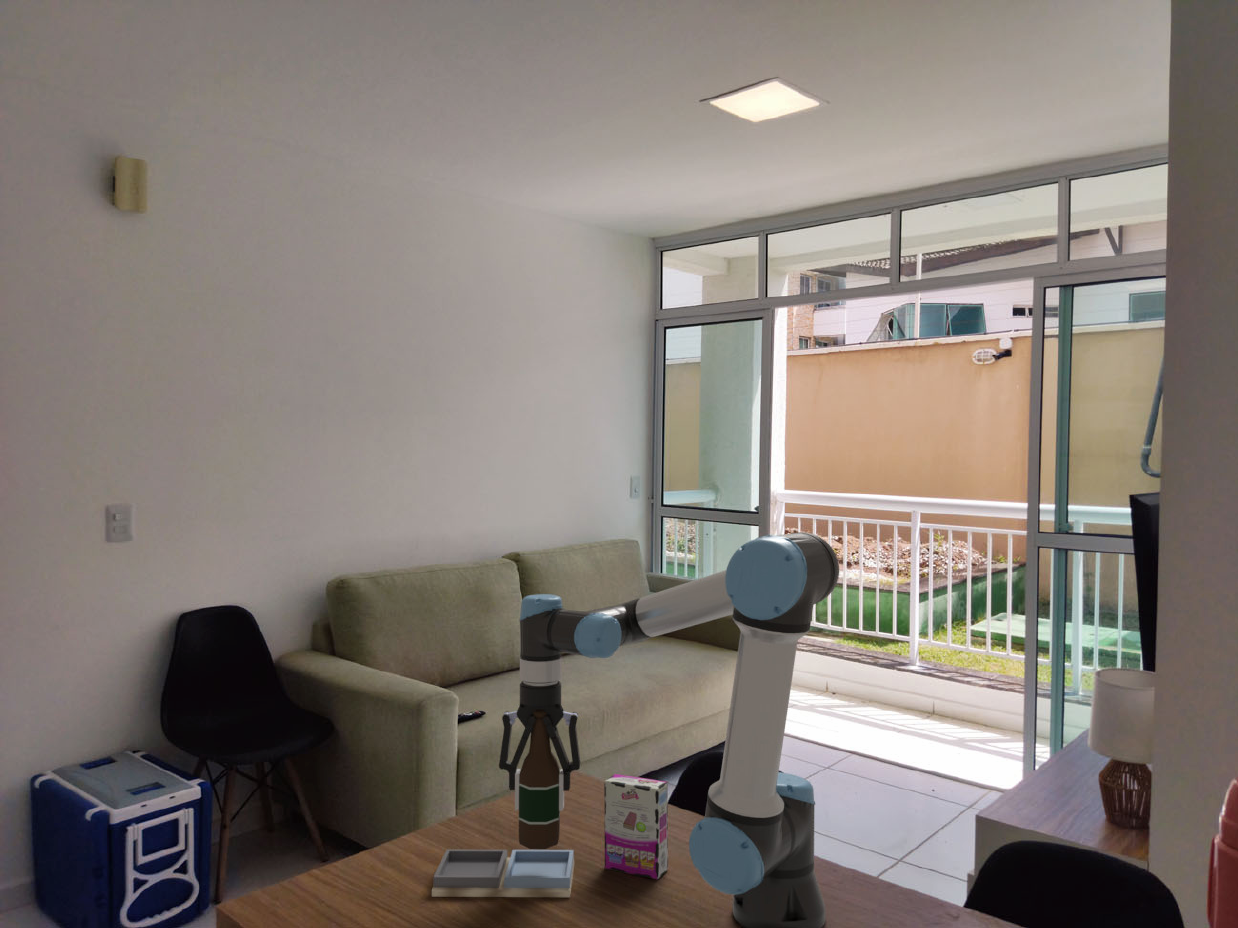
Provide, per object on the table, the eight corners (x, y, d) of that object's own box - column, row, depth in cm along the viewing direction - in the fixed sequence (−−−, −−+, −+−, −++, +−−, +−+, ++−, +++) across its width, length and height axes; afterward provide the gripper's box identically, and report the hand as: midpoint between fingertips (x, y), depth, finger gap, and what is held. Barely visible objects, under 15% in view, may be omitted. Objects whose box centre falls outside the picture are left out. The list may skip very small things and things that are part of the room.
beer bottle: (566, 846, 158) (567, 711, 158) (524, 853, 155) (525, 716, 155) (553, 829, 165) (554, 701, 165) (512, 836, 162) (513, 705, 162)
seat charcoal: (507, 859, 166) (507, 849, 166) (498, 887, 154) (498, 877, 154) (446, 858, 166) (446, 849, 166) (433, 887, 154) (433, 876, 154)
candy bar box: (669, 869, 164) (669, 780, 164) (658, 880, 160) (658, 789, 160) (615, 857, 169) (615, 771, 169) (603, 868, 164) (603, 780, 165)
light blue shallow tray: (573, 859, 166) (573, 849, 166) (569, 887, 154) (569, 877, 154) (512, 859, 166) (512, 849, 166) (504, 887, 154) (504, 877, 154)
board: (574, 863, 166) (574, 857, 166) (569, 897, 153) (569, 890, 153) (446, 863, 166) (446, 856, 166) (431, 896, 153) (431, 889, 153)
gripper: (596, 676, 164) (595, 800, 164) (488, 675, 164) (487, 799, 164) (595, 686, 156) (594, 816, 156) (481, 685, 157) (480, 815, 156)
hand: (539, 807), depth 160 cm, fingers closed on beer bottle, 7 cm apart
